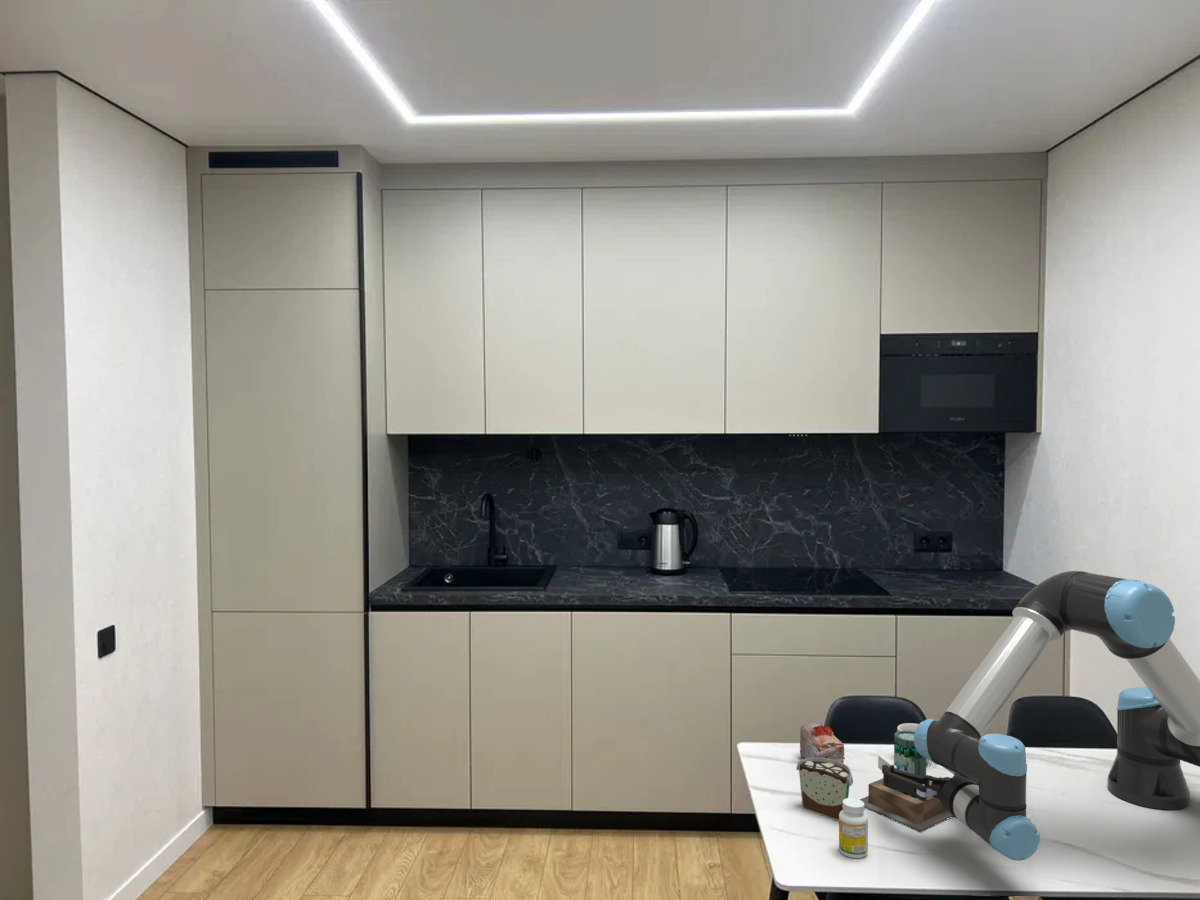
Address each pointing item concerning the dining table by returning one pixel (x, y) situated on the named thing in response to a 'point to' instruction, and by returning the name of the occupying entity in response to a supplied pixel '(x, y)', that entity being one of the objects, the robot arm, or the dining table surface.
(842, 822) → the supplement bottle
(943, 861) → the dining table surface
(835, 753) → the food item
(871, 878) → the dining table surface
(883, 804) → the holder
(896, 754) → the can
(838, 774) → the food container
